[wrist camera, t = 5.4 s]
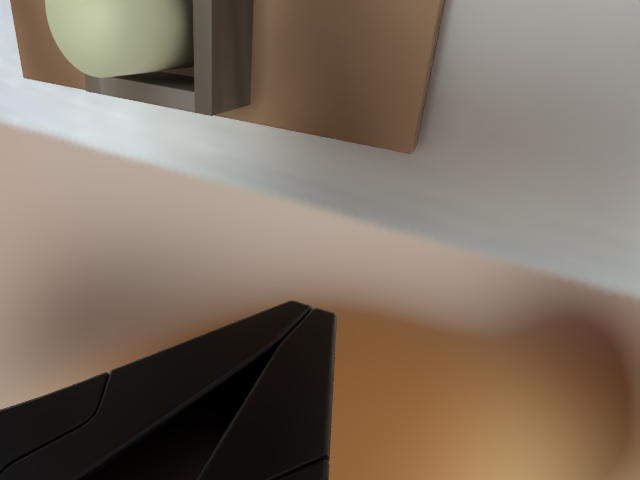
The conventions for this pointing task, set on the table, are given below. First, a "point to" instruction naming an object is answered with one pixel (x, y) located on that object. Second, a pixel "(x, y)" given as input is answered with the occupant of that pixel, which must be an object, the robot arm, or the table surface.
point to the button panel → (278, 65)
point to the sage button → (123, 35)
